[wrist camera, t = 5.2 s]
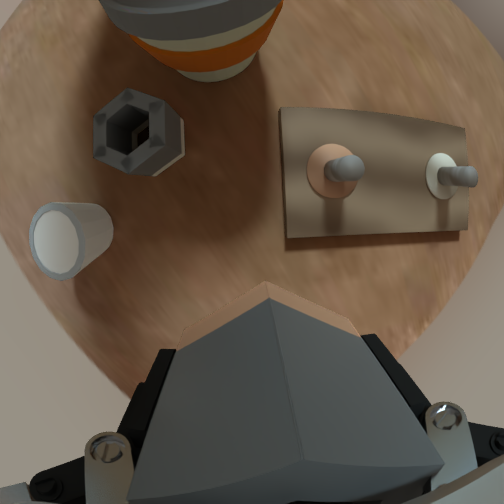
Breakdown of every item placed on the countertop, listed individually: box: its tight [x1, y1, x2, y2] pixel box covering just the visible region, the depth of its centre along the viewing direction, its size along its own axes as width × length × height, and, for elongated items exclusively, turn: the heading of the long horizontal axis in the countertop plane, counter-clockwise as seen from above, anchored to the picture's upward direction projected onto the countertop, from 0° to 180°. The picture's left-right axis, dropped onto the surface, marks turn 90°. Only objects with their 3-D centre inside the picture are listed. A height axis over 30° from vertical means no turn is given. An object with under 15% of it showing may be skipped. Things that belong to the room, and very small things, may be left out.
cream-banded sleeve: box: [93, 88, 185, 176], centre depth 22 cm, size 7×6×7 cm
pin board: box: [278, 107, 478, 238], centre depth 23 cm, size 12×22×6 cm, turn 93°
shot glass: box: [29, 202, 114, 281], centre depth 23 cm, size 7×7×7 cm
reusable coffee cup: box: [99, 0, 283, 82], centre depth 16 cm, size 13×12×15 cm
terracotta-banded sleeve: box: [126, 280, 445, 504], centre depth 7 cm, size 7×6×7 cm
